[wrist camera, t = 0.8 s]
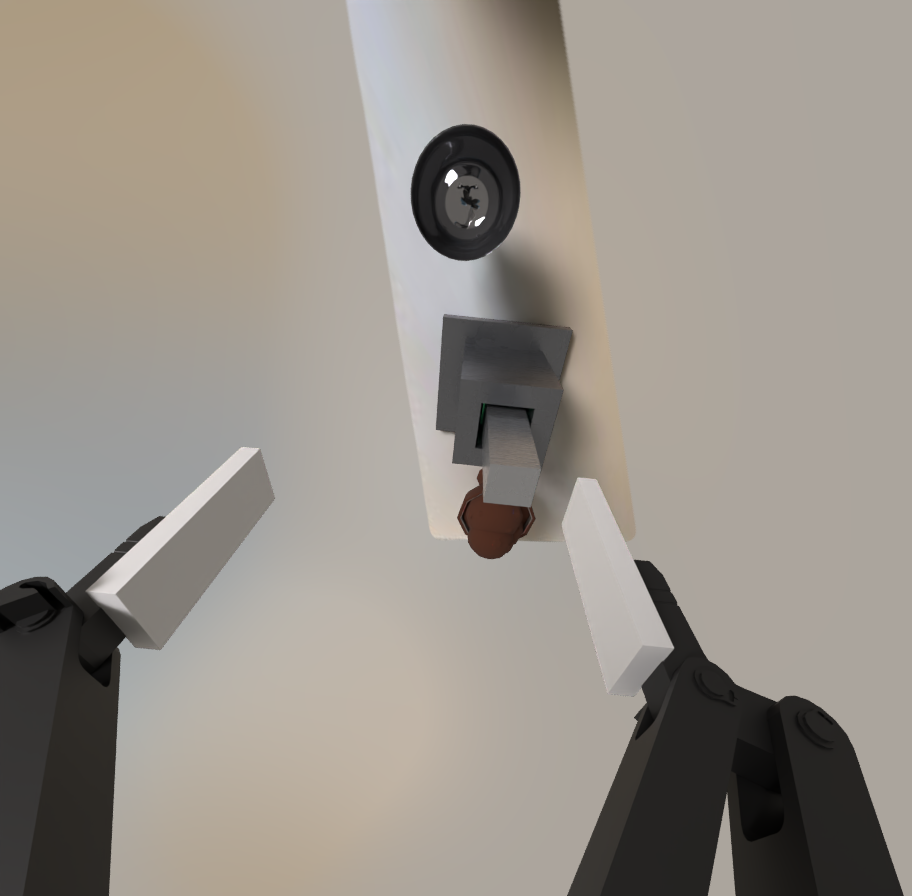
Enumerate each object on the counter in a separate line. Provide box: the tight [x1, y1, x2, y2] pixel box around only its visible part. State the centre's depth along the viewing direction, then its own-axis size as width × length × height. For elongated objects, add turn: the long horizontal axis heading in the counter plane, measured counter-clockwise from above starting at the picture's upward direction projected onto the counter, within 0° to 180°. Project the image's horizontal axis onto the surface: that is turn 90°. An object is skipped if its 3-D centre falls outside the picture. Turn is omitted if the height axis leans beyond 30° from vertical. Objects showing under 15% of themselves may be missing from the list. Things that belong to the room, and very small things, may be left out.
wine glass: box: [411, 124, 520, 261], centre depth 31 cm, size 8×8×15 cm
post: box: [480, 403, 541, 507], centre depth 36 cm, size 4×4×21 cm
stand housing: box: [436, 314, 573, 469], centre depth 41 cm, size 16×16×15 cm
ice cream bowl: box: [457, 469, 535, 559], centre depth 50 cm, size 11×11×15 cm
